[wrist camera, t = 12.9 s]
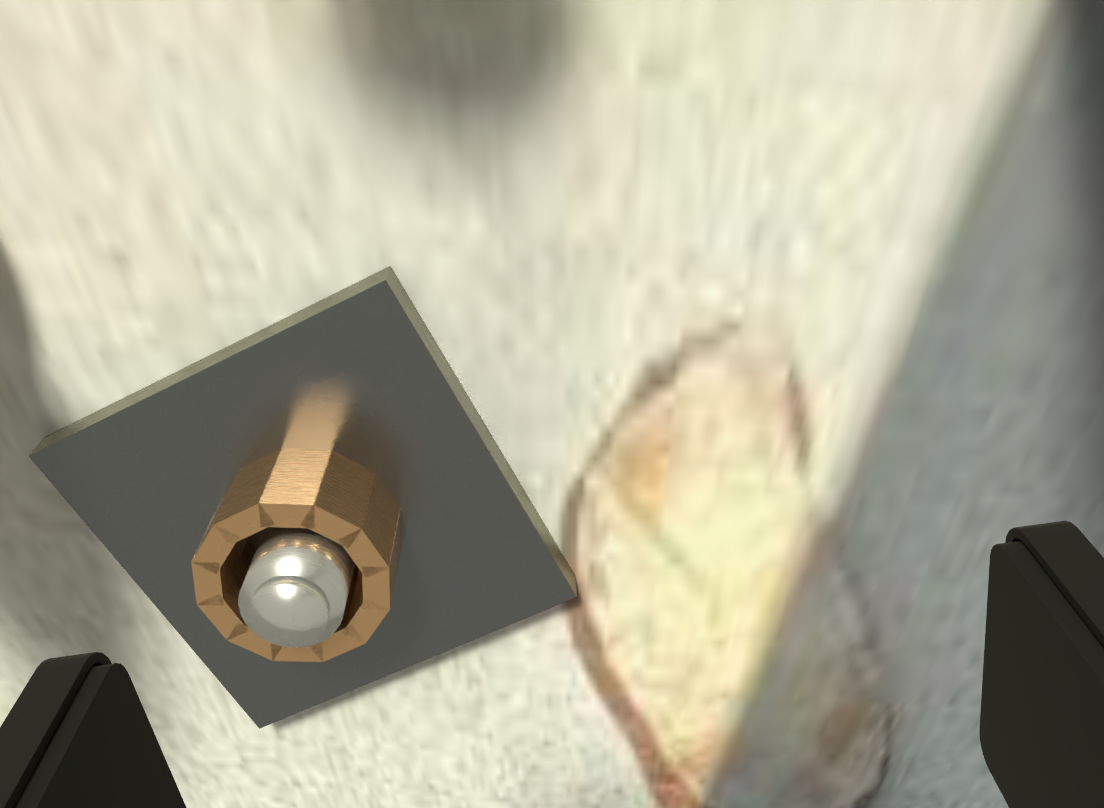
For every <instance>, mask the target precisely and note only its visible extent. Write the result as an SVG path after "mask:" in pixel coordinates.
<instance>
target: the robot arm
mask: <svg viewBox="0 0 1104 808" xmlns="http://www.w3.org/2000/svg"><path fill="white" fill-rule="evenodd" d="M980 742H981V747H982V751H983V755H984V758H985V761H986V764H987V766H988V768H989V770H990V772H991V774H992V776H993V778H994V780H995V782H996V783H997V785H998V787H999V789H1000V791H1001V793H1002V795H1003V797H1004V798H1005V800H1006V802H1007V804H1008V806H1009V808H1104V558H1103V557H1102V555H1101V554H1100V553H1099V552H1098V551H1097V550H1096V549H1095V547H1094V546H1093V545H1092V544H1091V543H1090V542H1089V541H1088V539H1087V538H1086V537H1085V536H1084V535H1083V534H1082V533H1081V531H1080V530H1079V529H1078V528H1077V527H1076V526H1075V525H1074V524H1072V523H1071V522H1067V521H1061V522H1054V523H1046V524H1039V525H1031V526H1024V527H1017V528H1013V529H1011V530H1009V532H1008V534H1007V536H1006V542H1005V543H1003V544H996V545H994V546H993V548H992V550H991V554H990V567H989V583H988V600H987V616H986V633H985V650H984V666H983V683H982V700H981V716H980ZM0 808H186V806H185V804H184V801H183V799H182V797H181V794H180V792H179V790H178V787H177V785H176V783H175V780H174V778H173V776H172V773H171V771H170V769H169V767H168V764H167V762H166V760H165V757H164V755H163V753H162V750H161V748H160V746H159V743H158V741H157V739H156V736H155V734H154V732H153V729H152V727H151V725H150V722H149V720H148V718H147V716H146V713H145V711H144V709H143V706H142V704H141V702H140V699H139V697H138V695H137V692H136V690H135V688H134V685H133V683H132V681H131V678H130V676H129V674H128V672H127V670H126V669H125V667H124V666H123V665H121V664H118V663H114V664H112V663H111V662H110V660H109V658H108V657H107V656H105V655H104V654H103V653H98V652H95V653H87V654H80V655H73V656H65V657H58V658H51V659H47V660H45V661H43V662H42V663H41V664H40V665H39V666H38V668H37V669H36V670H35V672H34V674H33V675H32V677H31V678H30V680H29V682H28V683H27V685H26V687H25V688H24V690H23V691H22V693H21V695H20V696H19V698H18V700H17V701H16V703H15V704H14V706H13V708H12V709H11V711H10V713H9V714H8V716H7V717H6V719H5V721H4V722H3V724H2V726H1V727H0Z"/></svg>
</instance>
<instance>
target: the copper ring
mask: <svg viewBox="0 0 1104 808" xmlns="http://www.w3.org/2000/svg"><path fill="white" fill-rule="evenodd" d="M268 527H283V528H308V529H310V530H312V531H314V532H316V533H318V534H320V535H322V536H324V537H326V538H328V539H330V540H332V541H334V542H336V543H339V544H341V545H342V546H343V547H344V549H345V550H346V551H347V553H348V554H349V556H350V557H351V558H352V560H353V561H354V562H355V564H356V565H357V566H358V567H357V568H354V573H353V577H352V581H351V585H350V589H349V593H348V598H347V602H346V606H345V610H344V614H343V618H342V621H341V624H340V625H339V627H338V629H337V630H336V631H335V632H334V633H333V634H332V635H331V636H330V637H328V638H327V639H325V640H324V641H322V642H320V643H317V644H314V645H311V646H306V647H282V646H278V645H274V644H272V643H270V642H268V641H266V640H264V639H262V638H261V637H259V636H258V635H256V634H255V633H254V632H253V631H252V630H251V629H250V628H249V627H248V626H247V625H246V623H245V622H244V620H243V618H242V616H241V614H240V611H239V606H238V598H239V593H240V590H241V587H242V585H243V582H244V580H245V577H246V574H247V572H248V569H249V567H250V564H251V562H252V559H253V557H254V554H255V552H256V548H255V547H254V545H253V544H252V543H251V542H250V540H249V539H248V536H250V535H253V534H255V533H257V532H259V531H261V530H263V529H265V528H268ZM400 551H401V528H400V508H399V506H398V505H397V504H396V502H395V501H394V499H393V498H392V496H391V495H390V493H389V492H388V490H387V489H386V488H385V486H384V485H383V483H382V482H381V480H380V479H379V477H378V476H377V474H376V473H375V472H373V471H371V470H369V469H367V468H365V467H364V466H362V465H360V464H358V463H356V462H354V461H352V460H350V459H348V458H346V457H344V456H342V455H340V454H338V453H337V452H335V451H333V450H317V449H286V448H281V449H280V450H278V451H275V452H273V453H271V454H269V455H267V456H265V457H263V458H261V459H259V460H257V461H255V462H253V463H251V464H249V465H247V466H244V467H242V468H240V470H239V472H238V474H237V475H236V477H235V479H234V480H233V482H232V484H231V485H230V487H229V489H228V490H227V492H226V494H225V495H224V497H223V499H222V501H221V502H220V504H219V506H218V508H217V510H216V512H215V514H214V516H213V518H212V520H211V522H210V524H209V526H208V528H207V530H206V533H205V535H204V537H203V539H202V541H201V543H200V545H199V547H198V549H197V551H196V553H195V555H194V557H193V559H192V561H191V564H192V572H193V579H194V587H195V595H196V603H197V606H198V607H199V608H200V609H201V610H202V612H203V613H204V614H205V615H206V616H207V617H208V619H209V620H210V621H211V622H212V623H213V625H214V626H215V627H216V628H217V629H218V631H219V632H220V633H221V634H222V635H223V636H224V638H225V639H226V640H227V641H229V642H232V643H234V644H236V645H238V646H240V647H243V648H245V649H247V650H249V651H252V652H254V653H256V654H258V655H260V656H263V657H265V658H267V659H269V660H272V661H296V662H324V661H327V660H329V659H331V658H333V657H336V656H338V655H340V654H343V653H345V652H347V651H349V650H352V649H354V648H356V647H359V646H361V645H363V644H366V642H367V641H368V639H369V638H370V637H371V635H372V634H373V632H374V631H375V630H376V628H377V627H378V625H379V624H380V623H381V621H382V620H383V618H384V617H385V616H386V614H387V613H388V611H389V610H390V607H391V602H392V596H393V590H394V585H395V579H396V573H397V568H398V562H399V556H400Z"/></svg>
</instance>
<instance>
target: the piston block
mask: <svg viewBox="0 0 1104 808" xmlns="http://www.w3.org/2000/svg"><path fill="white" fill-rule="evenodd" d="M281 448H286V449H317V450H333V451H335V452H337V453H338V454H340V455H342V456H344V457H346V458H348V459H350V460H352V461H354V462H356V463H358V464H360V465H362V466H364V467H365V468H367V469H369V470H371V471H373V472H375V473H376V474H377V476H378V477H379V479H380V480H381V482H382V483H383V485H384V486H385V488H386V489H387V490H388V492H389V493H390V495H391V496H392V498H393V499H394V501H395V502H396V504H397V505H398V506H399V508H400V528H401V551H400V556H399V562H398V568H397V573H396V579H395V585H394V590H393V596H392V602H391V607H390V610H389V611H388V613H387V614H386V616H385V617H384V618H383V620H382V621H381V623H380V624H379V625H378V627H377V628H376V630H375V631H374V632H373V634H372V635H371V637H370V638H369V639H368V641H367V642H366V644H363V645H361V646H359V647H356V648H354V649H352V650H349V651H347V652H345V653H343V654H340V655H338V656H336V657H333V658H331V659H329V660H327V661H324V662H296V661H272V660H269V659H267V658H265V657H263V656H260V655H258V654H256V653H254V652H252V651H249V650H247V649H245V648H243V647H240V646H238V645H236V644H234V643H232V642H229V641H227V640H226V639H225V638H224V636H223V635H222V634H221V633H220V632H219V631H218V629H217V628H216V627H215V626H214V625H213V623H212V622H211V621H210V620H209V619H208V617H207V616H206V615H205V614H204V613H203V612H202V610H201V609H200V608H199V607H198V606H197V603H196V595H195V587H194V579H193V572H192V564H191V561H192V559H193V557H194V555H195V553H196V551H197V549H198V547H199V545H200V543H201V541H202V539H203V537H204V535H205V533H206V530H207V528H208V526H209V524H210V522H211V520H212V518H213V516H214V514H215V512H216V510H217V508H218V506H219V504H220V502H221V501H222V499H223V497H224V495H225V494H226V492H227V490H228V489H229V487H230V485H231V484H232V482H233V480H234V479H235V477H236V475H237V474H238V472H239V470H240V468H242V467H244V466H247V465H249V464H251V463H253V462H255V461H257V460H259V459H261V458H263V457H265V456H267V455H269V454H271V453H273V452H275V451H278V450H280V449H281ZM29 457H30V458H31V459H32V460H33V461H34V463H35V464H36V465H37V466H38V467H39V468H40V470H41V471H42V472H43V473H44V474H45V476H46V477H47V478H48V479H49V480H50V481H51V483H52V484H53V485H54V486H55V487H56V489H57V490H58V491H59V492H60V493H61V494H62V496H63V497H64V498H65V499H66V500H67V502H68V503H69V504H70V505H71V506H72V507H73V509H74V510H75V511H76V512H77V513H78V515H79V516H80V517H81V518H82V519H83V520H84V522H85V523H86V524H87V525H88V526H89V528H90V529H91V530H92V531H93V532H94V533H95V535H96V536H97V537H98V538H99V539H100V541H101V542H102V543H103V544H104V545H105V546H106V548H107V549H108V550H109V551H110V552H111V554H112V555H113V556H114V557H115V558H116V559H117V561H118V562H119V563H120V564H121V565H122V567H123V568H124V569H125V570H126V571H127V572H128V574H129V575H130V576H131V577H132V578H133V580H134V581H135V582H136V583H137V584H138V585H139V587H140V588H141V589H142V590H143V591H144V593H145V594H146V595H147V596H148V597H149V598H150V600H151V601H152V602H153V603H154V604H155V606H156V607H157V608H158V609H159V610H160V611H161V613H162V614H163V615H164V616H165V617H166V619H167V620H168V621H169V622H170V623H171V624H172V626H173V627H174V628H175V629H176V630H177V632H178V633H179V634H180V635H181V636H182V637H183V639H184V640H185V641H186V642H187V643H188V645H189V646H190V647H191V648H192V649H193V650H194V652H195V653H196V654H197V655H198V656H199V658H200V659H201V660H202V661H203V662H204V663H205V665H206V666H207V667H208V668H209V669H210V671H211V672H212V673H213V674H214V675H215V676H216V678H217V679H218V680H219V681H220V682H221V684H222V685H223V686H224V687H225V688H226V690H227V691H228V692H229V693H230V694H231V695H232V697H233V698H234V699H235V700H236V701H237V703H238V704H239V705H240V706H241V707H242V708H243V710H244V711H245V712H246V713H247V714H248V716H249V717H250V718H251V719H252V720H253V721H254V723H255V724H256V725H257V726H258V727H259V728H262V727H264V726H267V725H269V724H271V723H274V722H276V721H279V720H281V719H283V718H286V717H288V716H291V715H293V714H296V713H298V712H300V711H303V710H305V709H308V708H310V707H312V706H315V705H317V704H320V703H322V702H324V701H327V700H329V699H332V698H334V697H337V696H339V695H341V694H344V693H346V692H349V691H351V690H353V689H356V688H358V687H361V686H363V685H365V684H368V683H370V682H373V681H375V680H377V679H380V678H382V677H385V676H387V675H390V674H392V673H394V672H397V671H399V670H402V669H404V668H406V667H409V666H411V665H414V664H416V663H418V662H421V661H423V660H426V659H428V658H431V657H433V656H435V655H438V654H440V653H443V652H445V651H447V650H450V649H452V648H455V647H457V646H459V645H462V644H464V643H467V642H469V641H472V640H474V639H476V638H479V637H481V636H484V635H486V634H488V633H491V632H493V631H496V630H498V629H500V628H503V627H505V626H508V625H510V624H513V623H515V622H517V621H520V620H522V619H525V618H527V617H529V616H532V615H534V614H537V613H539V612H541V611H544V610H546V609H549V608H551V607H554V606H556V605H558V604H561V603H563V602H566V601H568V600H570V599H573V598H575V597H577V593H576V580H575V575H574V573H573V571H572V570H571V568H570V566H569V565H568V563H567V561H566V560H565V558H564V556H563V555H562V553H561V551H560V550H559V548H558V546H557V545H556V543H555V541H554V540H553V538H552V536H551V534H550V533H549V531H548V529H547V528H546V526H545V524H544V523H543V521H542V519H541V518H540V516H539V514H538V513H537V511H536V509H535V508H534V506H533V504H532V503H531V501H530V499H529V498H528V496H527V494H526V493H525V491H524V489H523V488H522V486H521V484H520V483H519V481H518V479H517V478H516V476H515V474H514V472H513V471H512V469H511V467H510V466H509V464H508V462H507V461H506V459H505V457H504V456H503V454H502V452H501V451H500V449H499V447H498V446H497V444H496V442H495V441H494V439H493V437H492V436H491V434H490V432H489V431H488V429H487V427H486V426H485V424H484V422H483V421H482V419H481V417H480V416H479V414H478V412H477V410H476V409H475V407H474V405H473V404H472V402H471V400H470V399H469V397H468V395H467V394H466V392H465V390H464V389H463V387H462V385H461V384H460V382H459V380H458V379H457V377H456V375H455V374H454V372H453V370H452V369H451V367H450V365H449V364H448V362H447V360H446V359H445V357H444V355H443V354H442V352H441V350H440V348H439V347H438V345H437V343H436V342H435V340H434V338H433V337H432V335H431V333H430V332H429V330H428V328H427V327H426V325H425V323H424V322H423V320H422V318H421V317H420V315H419V313H418V312H417V310H416V308H415V307H414V305H413V303H412V302H411V300H410V298H409V297H408V295H407V293H406V292H405V290H404V288H403V286H402V285H401V283H400V281H399V280H398V278H397V276H396V275H395V273H394V271H393V270H392V268H391V266H390V267H388V268H386V269H384V270H382V271H380V272H378V273H376V274H374V275H372V276H369V277H367V278H365V279H363V280H361V281H359V282H357V283H355V284H353V285H351V286H349V287H347V288H345V289H343V290H341V291H339V292H337V293H335V294H333V295H331V296H329V297H327V298H325V299H323V300H321V301H319V302H317V303H315V304H313V305H311V306H309V307H307V308H305V309H303V310H301V311H299V312H297V313H295V314H293V315H291V316H289V317H287V318H285V319H283V320H281V321H279V322H277V323H275V324H273V325H271V326H269V327H267V328H265V329H262V330H260V331H258V332H256V333H254V334H252V335H250V336H248V337H246V338H244V339H242V340H240V341H238V342H236V343H234V344H232V345H230V346H228V347H226V348H224V349H222V350H220V351H218V352H216V353H214V354H212V355H210V356H208V357H206V358H204V359H202V360H200V361H198V362H196V363H194V364H192V365H190V366H188V367H186V368H184V369H182V370H180V371H178V372H176V373H174V374H172V375H170V376H168V377H166V378H164V379H162V380H160V381H158V382H155V383H153V384H151V385H149V386H147V387H145V388H143V389H141V390H139V391H137V392H135V393H133V394H131V395H129V396H127V397H125V398H123V399H121V400H119V401H117V402H115V403H113V404H111V405H109V406H107V407H105V408H103V409H101V410H99V411H97V412H95V413H93V414H91V415H89V416H87V417H85V418H83V419H81V420H79V421H77V422H75V423H73V424H71V425H69V426H67V427H65V428H63V429H61V430H59V431H57V432H55V433H53V434H51V435H48V436H46V437H45V438H44V439H43V440H42V441H41V442H40V443H39V445H38V446H37V447H36V448H35V449H34V450H33V452H32V453H31V454H30V455H29ZM248 539H249V540H250V542H251V543H252V544H253V545H254V547H255V548H256V552H255V554H254V557H253V559H252V562H251V564H250V567H249V569H248V572H247V574H246V577H245V580H244V582H243V585H242V587H241V590H240V593H239V598H238V606H239V611H240V614H241V616H242V618H243V620H244V622H245V623H246V625H247V626H248V627H249V628H250V629H251V630H252V631H253V632H254V633H255V634H256V635H258V636H259V637H261V638H262V639H264V640H266V641H268V642H270V643H272V644H274V645H278V646H282V647H306V646H311V645H314V644H317V643H320V642H322V641H324V640H325V639H327V638H328V637H330V636H331V635H332V634H333V633H334V632H335V631H336V630H337V629H338V627H339V625H340V624H341V621H342V618H343V614H344V610H345V606H346V602H347V598H348V593H349V589H350V585H351V581H352V577H353V573H354V568H357V567H358V566H357V565H356V564H355V562H354V561H353V560H352V558H351V557H350V556H349V554H348V553H347V551H346V550H345V549H344V547H343V546H342V545H341V544H339V543H336V542H334V541H332V540H330V539H328V538H326V537H324V536H322V535H320V534H318V533H316V532H314V531H312V530H310V529H308V528H283V527H268V528H265V529H263V530H261V531H259V532H257V533H255V534H253V535H250V536H248Z"/></svg>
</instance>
